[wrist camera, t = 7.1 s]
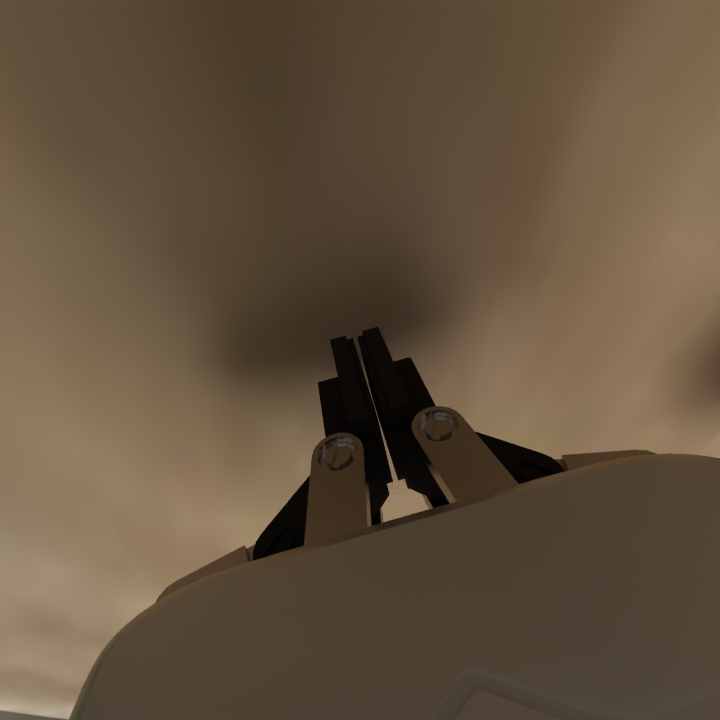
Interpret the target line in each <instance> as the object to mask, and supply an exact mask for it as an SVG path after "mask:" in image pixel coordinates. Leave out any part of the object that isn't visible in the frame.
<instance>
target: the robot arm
mask: <svg viewBox="0 0 720 720" xmlns="http://www.w3.org/2000/svg"><path fill="white" fill-rule="evenodd" d="M330 341H331V346H332V350H333V355H334V360H335V364H336V369H337V373H338V377H336V378H332V379H328V380H325V381H321V382H318V387H319V394H320V401H321V408H322V415H323V422H324V429H325V436H326V438H324V439H323V440H322V441H320V442H319V443H318V444H317V446H316V447H315V449H314V450H313V454H312V460H311V471H310V476H309V477H308V478H307V479H306V481H305V482H304V483H303V484H302V485H301V487H300V488H299V489H298V490H297V491H296V493H295V494H294V495H293V496H292V497H291V499H290V500H289V501H288V502H287V503H286V505H285V506H284V507H283V508H282V509H281V511H280V512H279V513H278V514H277V516H276V517H275V518H274V519H273V520H272V522H271V523H270V524H269V525H268V526H267V528H266V529H265V530H264V531H263V532H262V534H261V535H260V537H259V538H258V540H257V541H256V544H255V545H253V546H251V547H249V548H246V547H245V545H244V546H242V547H240V548H238V549H237V550H235V551H233V552H231V553H229V554H227V555H225V556H223V557H221V558H219V559H217V560H215V561H213V562H212V563H210V564H208V565H206V566H204V567H202V568H200V569H198V570H196V571H194V572H192V573H190V574H188V575H187V576H185V577H183V578H181V579H179V580H177V581H175V582H174V583H172V584H171V585H170V586H168V587H167V588H166V589H165V590H164V591H163V592H162V594H161V595H160V596H159V597H158V599H157V601H156V603H155V604H153V605H152V606H150V607H149V608H147V609H146V610H144V611H143V612H142V613H140V614H139V615H137V616H136V617H135V618H134V619H133V620H131V621H130V622H129V623H128V624H126V625H125V626H124V627H123V628H122V629H121V630H120V631H119V632H118V633H117V634H116V635H115V636H114V637H113V638H112V639H111V640H110V642H109V643H108V644H107V645H106V646H105V648H104V649H103V651H102V652H101V654H100V655H99V657H98V658H97V660H96V662H95V663H94V665H93V667H92V669H91V671H90V672H89V674H88V677H87V679H86V681H85V683H84V685H83V687H82V689H81V692H80V694H79V697H78V699H77V701H76V704H75V706H74V708H73V711H72V713H71V716H70V718H69V720H720V459H719V458H714V457H709V456H701V455H691V454H672V453H669V454H656V453H653V452H650V451H647V450H625V451H611V452H597V453H583V454H569V455H562V458H561V459H555V460H554V459H553V458H551V457H549V456H547V455H545V454H542V453H539V452H536V451H533V450H530V449H527V448H524V447H521V446H518V445H515V444H512V443H509V442H506V441H502V440H499V439H496V438H493V437H490V436H487V435H484V434H481V433H478V432H475V431H474V430H473V429H472V428H471V426H470V425H469V424H468V423H467V422H466V421H465V419H464V418H463V417H462V416H461V415H460V414H459V413H458V412H457V411H455V410H453V409H451V408H448V407H443V406H435V404H434V402H433V400H432V398H431V396H430V394H429V392H428V390H427V388H426V386H425V384H424V382H423V380H422V379H421V377H420V375H419V373H418V371H417V369H416V367H415V365H414V363H413V361H412V359H411V358H410V357H409V358H405V359H401V360H398V361H394V362H393V360H392V358H391V355H390V353H389V351H388V348H387V346H386V344H385V342H384V339H383V337H382V335H381V332H380V330H379V328H378V327H376V328H372V329H368V330H365V331H363V335H362V336H359V337H358V341H359V345H360V349H361V353H362V358H363V362H364V366H365V370H366V374H367V378H368V382H369V386H370V390H371V394H372V398H373V401H372V398H371V395H370V392H369V388H368V385H367V382H366V379H365V376H364V372H363V369H362V366H361V363H360V360H359V357H358V353H357V350H356V347H355V344H354V341H353V338H351V339H346V336H342V337H339V338H335V339H331V340H330ZM373 402H374V404H373ZM374 405H375V408H376V411H377V415H378V418H379V421H380V424H381V427H382V430H383V434H384V437H385V440H386V443H387V446H388V449H389V453H390V456H391V459H392V462H393V465H394V468H395V472H396V475H397V478H398V480H401V479H405V481H406V484H407V487H408V489H409V488H410V489H412V490H414V491H416V492H419V493H421V494H423V497H424V500H425V503H426V504H427V506H428V508H429V510H425V511H422V512H418V513H415V514H411V515H408V516H404V517H401V518H397V519H394V520H390V521H387V522H383V513H382V509H381V507H382V505H383V504H384V502H385V501H386V499H387V498H388V496H389V491H388V487H387V483H391V482H393V480H392V476H391V471H390V467H389V463H388V459H387V455H386V451H385V447H384V443H383V439H382V434H381V430H380V426H379V422H378V418H377V415H376V411H375V408H374Z"/></svg>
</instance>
